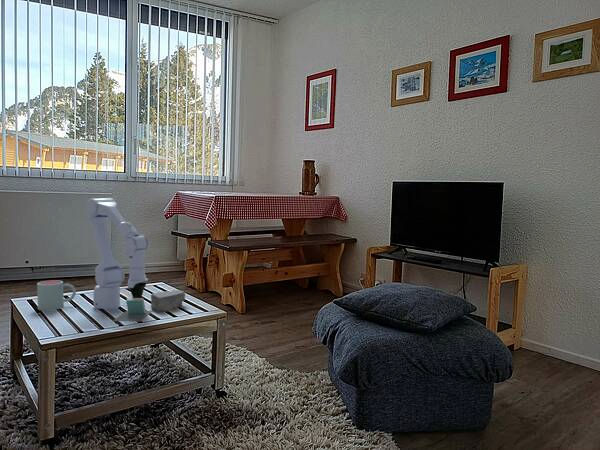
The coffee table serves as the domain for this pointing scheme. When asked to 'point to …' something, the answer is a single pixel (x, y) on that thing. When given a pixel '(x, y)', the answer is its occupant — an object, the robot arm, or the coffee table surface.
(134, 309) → the tile
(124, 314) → the mat
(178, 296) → the decorative stone
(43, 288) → the mug
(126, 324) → the coffee table surface
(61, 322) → the coffee table surface
